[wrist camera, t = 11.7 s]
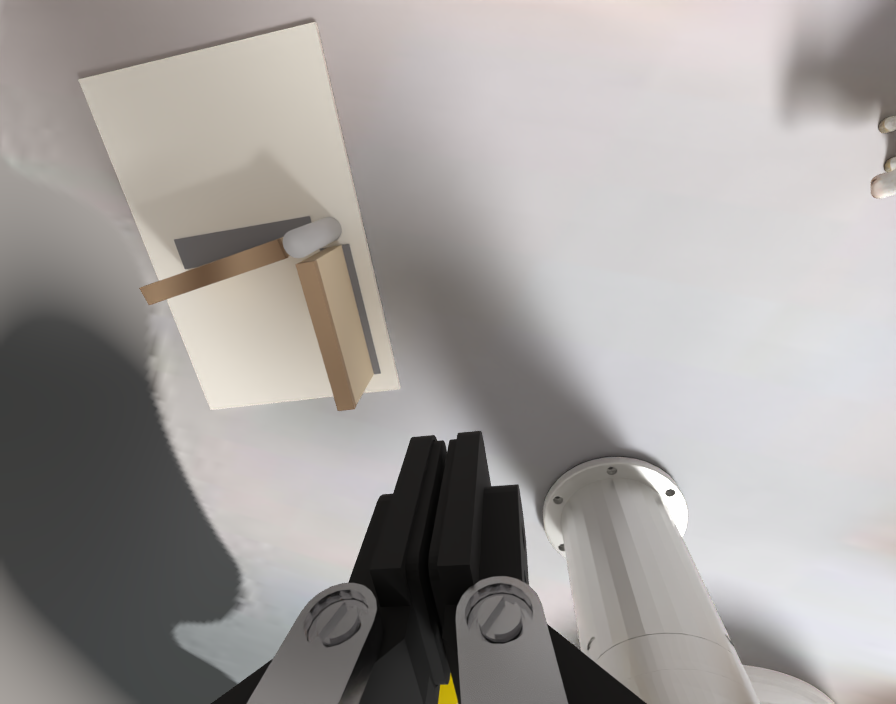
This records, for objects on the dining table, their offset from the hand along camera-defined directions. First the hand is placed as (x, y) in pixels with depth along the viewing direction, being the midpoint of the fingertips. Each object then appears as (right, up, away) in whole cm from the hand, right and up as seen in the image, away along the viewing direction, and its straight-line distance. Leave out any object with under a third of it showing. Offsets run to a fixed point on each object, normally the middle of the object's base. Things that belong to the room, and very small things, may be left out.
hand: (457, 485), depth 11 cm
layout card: (-15, +11, +26) cm, 33 cm away
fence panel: (-16, +11, +26) cm, 32 cm away
